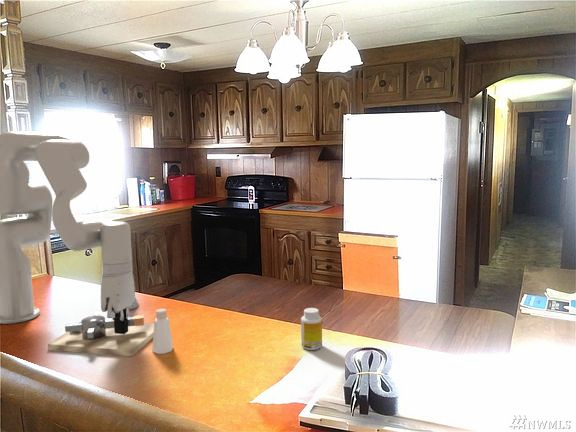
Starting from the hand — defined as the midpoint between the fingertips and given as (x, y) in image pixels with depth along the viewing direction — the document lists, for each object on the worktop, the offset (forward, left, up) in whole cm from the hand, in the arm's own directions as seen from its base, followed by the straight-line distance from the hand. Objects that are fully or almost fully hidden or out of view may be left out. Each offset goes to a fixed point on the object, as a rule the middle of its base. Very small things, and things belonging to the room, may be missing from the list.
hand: (121, 332), depth 122 cm
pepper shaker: (+13, -2, -3) cm, 14 cm away
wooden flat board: (-5, +2, -3) cm, 6 cm away
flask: (-13, +27, -3) cm, 30 cm away
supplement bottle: (+52, +6, -3) cm, 52 cm away
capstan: (-5, +1, -1) cm, 5 cm away
